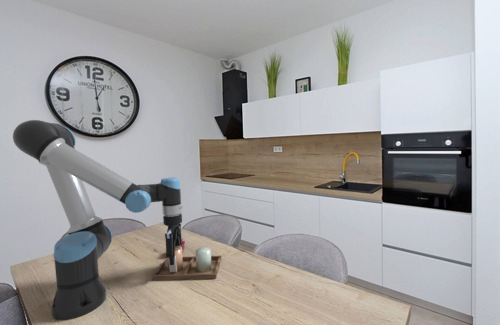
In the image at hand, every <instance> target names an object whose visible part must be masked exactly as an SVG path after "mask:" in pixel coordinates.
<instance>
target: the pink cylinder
mask: <svg viewBox="0 0 500 325" xmlns="http://www.w3.org/2000/svg"><path fill="white" fill-rule="evenodd" d="M182 253H183V250H182V247H181V246H175V256H176V266H177V271H176V272H170V269H169V258H168V271H169V272H170V273H177V272H180V271H182V270H183V258H182V257H183V254H182Z"/></svg>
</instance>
